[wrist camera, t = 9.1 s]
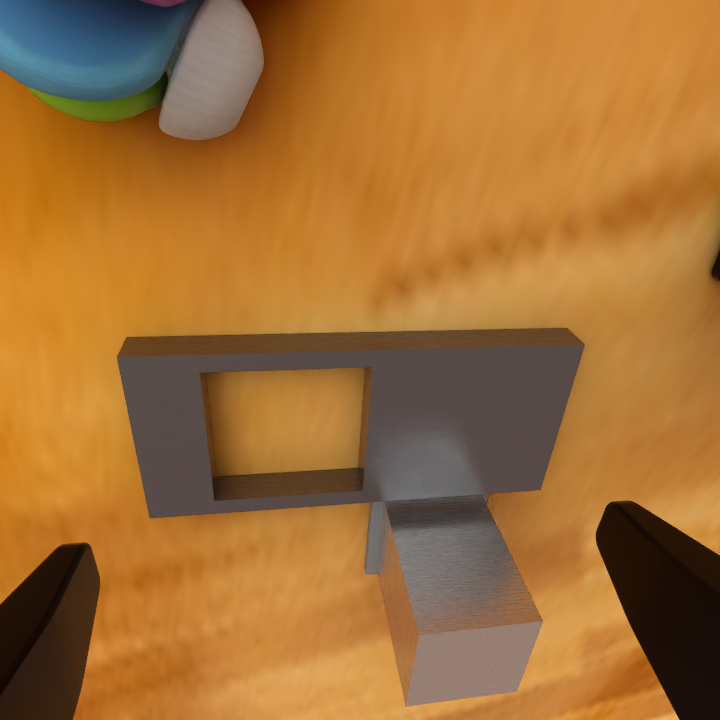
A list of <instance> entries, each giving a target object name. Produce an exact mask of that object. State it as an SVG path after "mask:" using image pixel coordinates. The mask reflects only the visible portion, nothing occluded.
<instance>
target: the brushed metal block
mask: <svg viewBox="0 0 720 720" xmlns="http://www.w3.org/2000/svg"><path fill="white" fill-rule="evenodd" d="M377 573H378V577H379V582H380V587H381V592H382V596H383V601H384V606H385V610H386V615H387V620H388V625H389V629H390V634H391V639H392V644H393V648H394V653H395V658H396V663H397V667H398V672H399V677H400V681H401V686H402V691H403V696H404V700H405V705H406V706H413V705H420V704H427V703H435V702H442V701H450V700H457V699H464V698H472V697H479V696H486V695H494V694H501V693H509V692H516V691H517V689H518V687H519V684H520V681H521V679H522V676H523V673H524V671H525V668H526V665H527V663H528V660H529V657H530V655H531V652H532V649H533V647H534V644H535V641H536V639H537V636H538V633H539V631H540V628H541V625H542V623H543V620H542V618H541V616H540V614H539V612H538V610H537V608H536V606H535V604H534V601H533V599H532V597H531V595H530V593H529V591H528V589H527V587H526V585H525V583H524V581H523V579H522V577H521V575H520V572H519V570H518V568H517V566H516V564H515V562H514V560H513V558H512V556H511V554H510V552H509V550H508V548H507V546H506V543H505V541H504V539H503V537H502V535H501V533H500V531H499V529H498V527H497V525H496V523H495V521H494V519H493V516H492V514H491V512H490V510H489V508H488V506H487V504H486V502H485V500H484V498H483V496H482V494H477V495H464V496H450V497H436V498H422V499H409V500H395V501H384V503H383V512H382V521H381V530H380V540H379V549H378V558H377Z"/></svg>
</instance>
